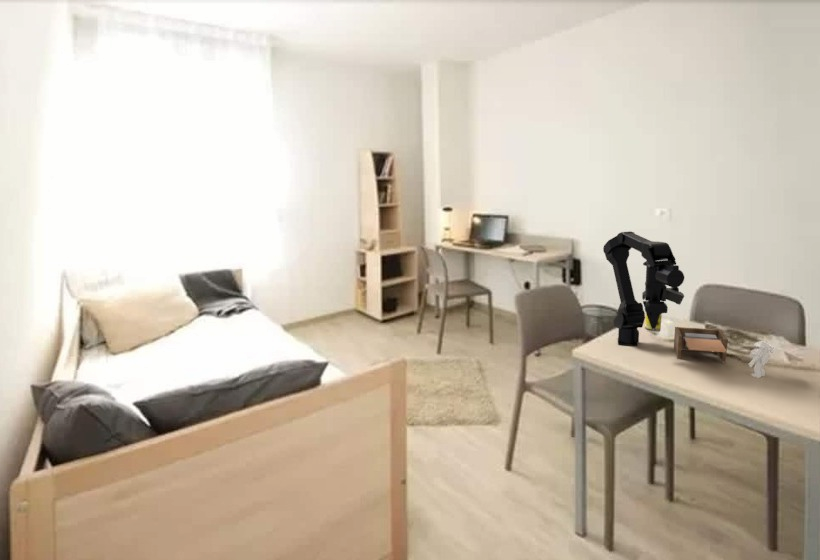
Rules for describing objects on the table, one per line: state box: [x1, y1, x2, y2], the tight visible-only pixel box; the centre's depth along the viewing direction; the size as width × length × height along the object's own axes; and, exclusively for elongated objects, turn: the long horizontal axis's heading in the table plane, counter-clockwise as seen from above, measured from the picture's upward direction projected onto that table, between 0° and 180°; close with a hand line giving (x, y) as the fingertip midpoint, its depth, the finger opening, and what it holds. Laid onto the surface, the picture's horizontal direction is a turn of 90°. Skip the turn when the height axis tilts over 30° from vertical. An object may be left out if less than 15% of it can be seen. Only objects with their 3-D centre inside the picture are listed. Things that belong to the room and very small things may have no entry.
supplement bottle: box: [644, 313, 663, 334], centre depth 163 cm, size 5×5×8 cm
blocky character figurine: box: [748, 340, 774, 379], centre depth 147 cm, size 9×4×12 cm, turn 117°
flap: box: [683, 333, 726, 353], centre depth 159 cm, size 11×14×4 cm
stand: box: [673, 326, 729, 363], centre depth 165 cm, size 14×10×8 cm
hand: (652, 325), depth 164 cm, fingers closed on supplement bottle, 5 cm apart
